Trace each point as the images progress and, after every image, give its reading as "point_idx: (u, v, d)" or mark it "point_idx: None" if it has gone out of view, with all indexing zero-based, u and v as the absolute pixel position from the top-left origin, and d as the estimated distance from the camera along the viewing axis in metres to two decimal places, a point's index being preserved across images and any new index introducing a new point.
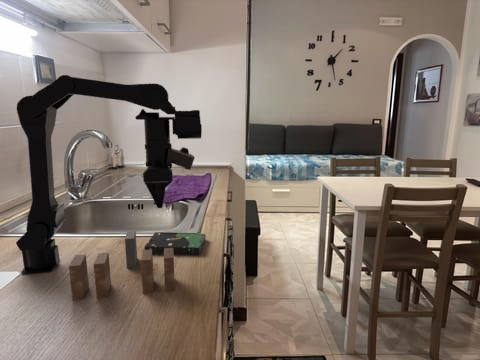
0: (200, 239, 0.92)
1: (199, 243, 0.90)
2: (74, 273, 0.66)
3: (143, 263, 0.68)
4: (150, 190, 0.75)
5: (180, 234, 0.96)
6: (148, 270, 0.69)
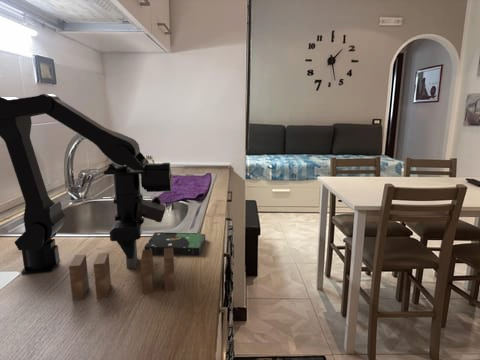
0: (200, 239, 0.92)
1: (199, 243, 0.90)
2: (74, 273, 0.66)
3: (143, 263, 0.68)
4: (119, 243, 0.76)
5: (180, 234, 0.96)
6: (148, 270, 0.69)
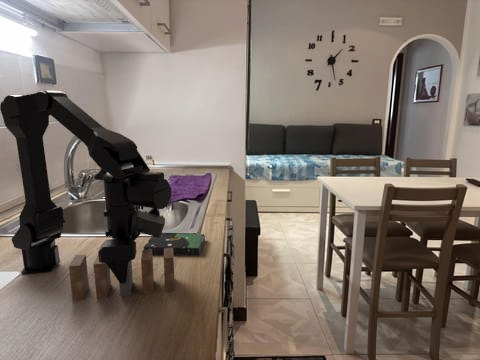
0: (200, 239, 0.92)
1: (199, 243, 0.89)
2: (74, 273, 0.66)
3: (143, 263, 0.68)
4: (110, 266, 0.64)
5: (179, 234, 0.95)
6: (148, 270, 0.69)
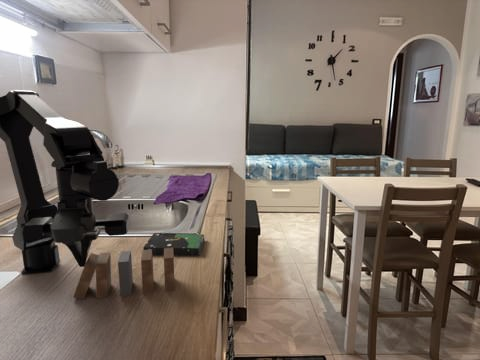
0: (199, 240, 0.92)
1: (198, 244, 0.89)
2: (87, 272, 0.66)
3: (143, 263, 0.68)
4: None
5: (179, 235, 0.95)
6: (148, 270, 0.69)
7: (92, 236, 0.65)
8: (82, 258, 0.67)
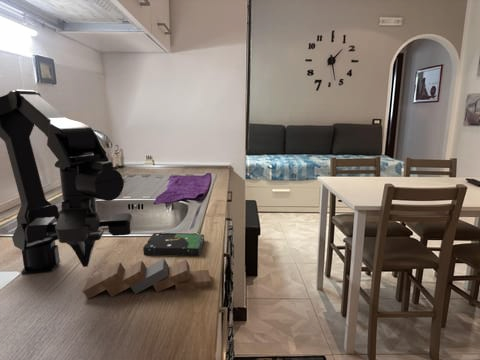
0: (199, 240, 0.92)
1: (198, 244, 0.89)
2: (111, 280, 0.67)
3: (184, 273, 0.70)
4: None
5: (179, 235, 0.95)
6: (178, 279, 0.70)
7: (96, 236, 0.65)
8: (86, 258, 0.67)
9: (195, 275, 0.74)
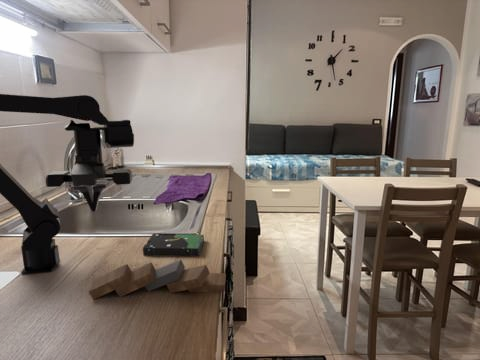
0: (199, 240, 0.92)
1: (198, 244, 0.89)
2: (118, 282, 0.67)
3: (194, 280, 0.67)
4: None
5: (178, 235, 0.95)
6: (190, 285, 0.68)
7: (102, 185, 0.81)
8: (94, 204, 0.82)
9: (211, 277, 0.73)
